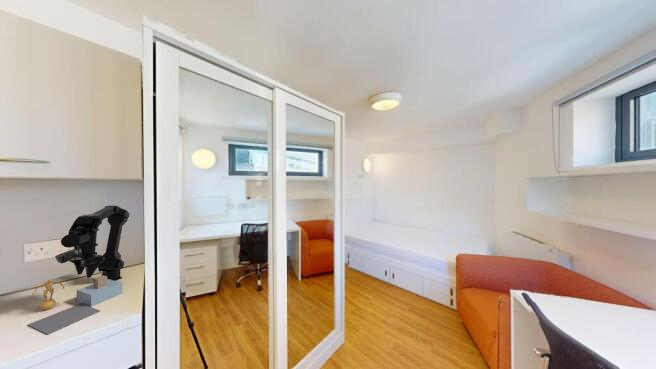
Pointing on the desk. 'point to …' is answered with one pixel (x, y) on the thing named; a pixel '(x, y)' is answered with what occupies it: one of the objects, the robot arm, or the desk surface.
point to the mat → (63, 318)
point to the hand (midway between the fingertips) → (84, 276)
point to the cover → (99, 291)
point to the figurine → (50, 302)
